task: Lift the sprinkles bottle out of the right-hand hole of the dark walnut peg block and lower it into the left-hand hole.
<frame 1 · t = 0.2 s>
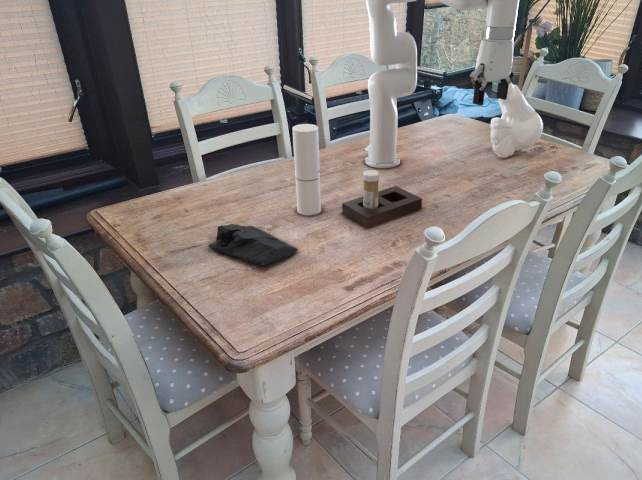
hand: (489, 101, 148), 31 cm above the table, tool pointing down, fingers open, 9 cm apart
cylindrical container: (309, 210, 163), on the table
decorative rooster: (506, 152, 205), on the table
peg block: (382, 211, 162), on the table
sprinkles bottle: (370, 216, 160), resting in peg block
folded black cloth: (253, 250, 143), on the table
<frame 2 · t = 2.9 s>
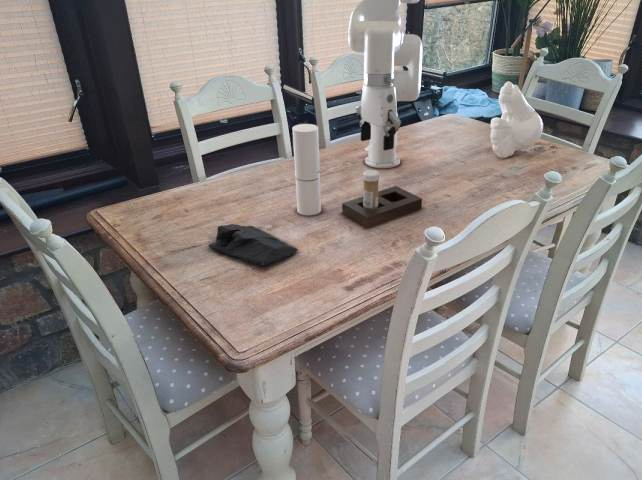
hand: (376, 144, 148), 21 cm above the table, tool pointing down, fingers open, 9 cm apart
nothing on the table moved.
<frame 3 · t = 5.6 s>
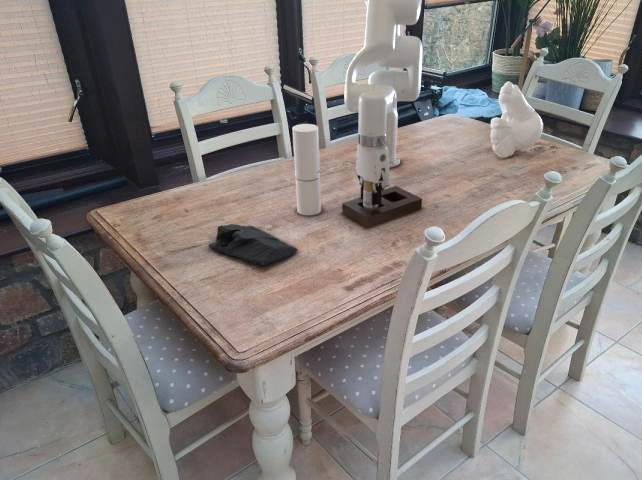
hand: (370, 200, 157), 5 cm above the table, tool pointing down, fingers closed on sprinkles bottle, 4 cm apart
sprinkles bottle: (370, 216, 160), resting in peg block, touching gripper
everything else where it was.
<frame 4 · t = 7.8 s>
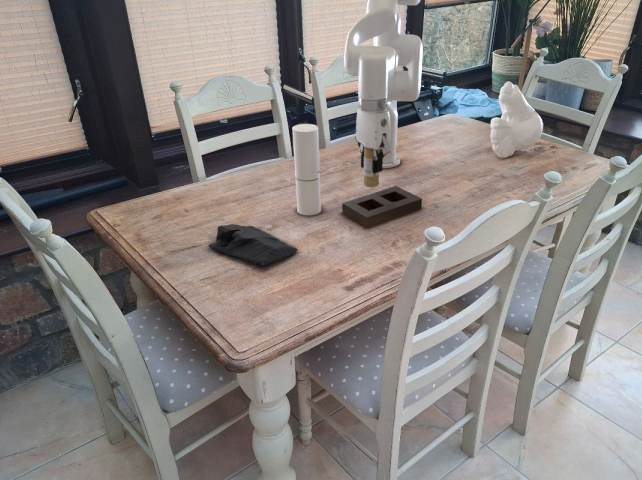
hand: (371, 168, 152), 14 cm above the table, tool pointing down, fingers closed on sprinkles bottle, 4 cm apart
sprinkles bottle: (371, 185, 155), point 9 cm above the table, touching gripper
everything else where it was.
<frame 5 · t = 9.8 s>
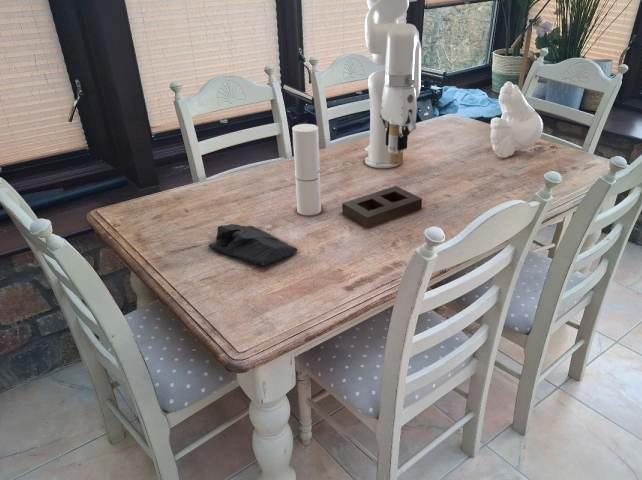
hand: (396, 146, 154), 19 cm above the table, tool pointing down, fingers closed on sprinkles bottle, 4 cm apart
sprinkles bottle: (395, 163, 156), point 14 cm above the table, touching gripper
everything else where it was.
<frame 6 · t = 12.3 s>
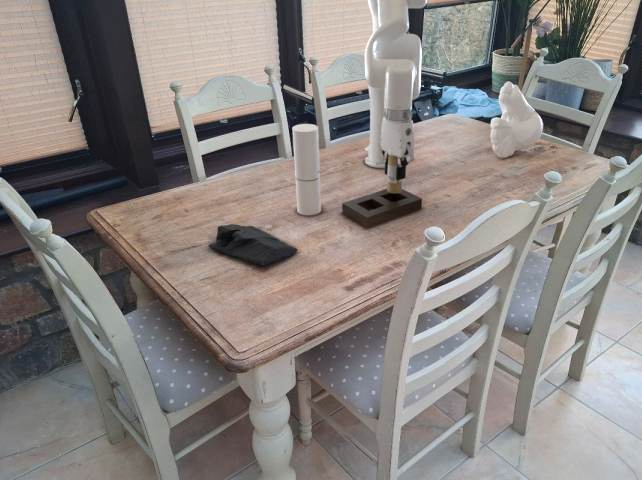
hand: (394, 175, 158), 10 cm above the table, tool pointing down, fingers closed on sprinkles bottle, 4 cm apart
sprinkles bottle: (394, 191, 161), point 5 cm above the table, touching gripper
everything else where it was.
when the fingers open (5 cm above the table, at t = 14.1 s): sprinkles bottle stays where it is, resting in peg block.
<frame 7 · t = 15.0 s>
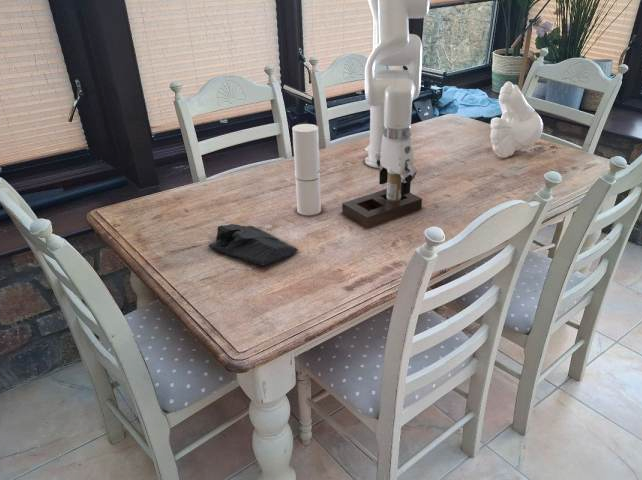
hand: (394, 188, 161), 6 cm above the table, tool pointing down, fingers open, 9 cm apart
sprinkles bottle: (393, 208, 164), resting in peg block
everything else where it was.
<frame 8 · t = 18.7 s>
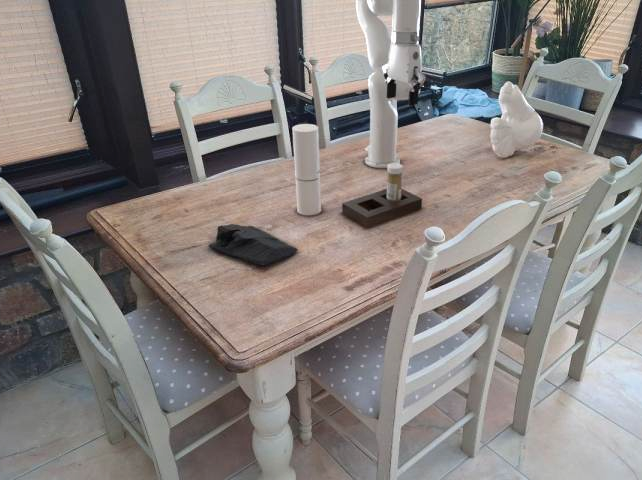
hand: (401, 101, 159), 28 cm above the table, tool pointing down, fingers open, 9 cm apart
nothing on the table moved.
at the end: sprinkles bottle 0.1 cm from the target spot in the peg block, point 0.0 cm above the peg block's base; sprinkles bottle tilted 0°; the gripper is holding nothing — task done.
